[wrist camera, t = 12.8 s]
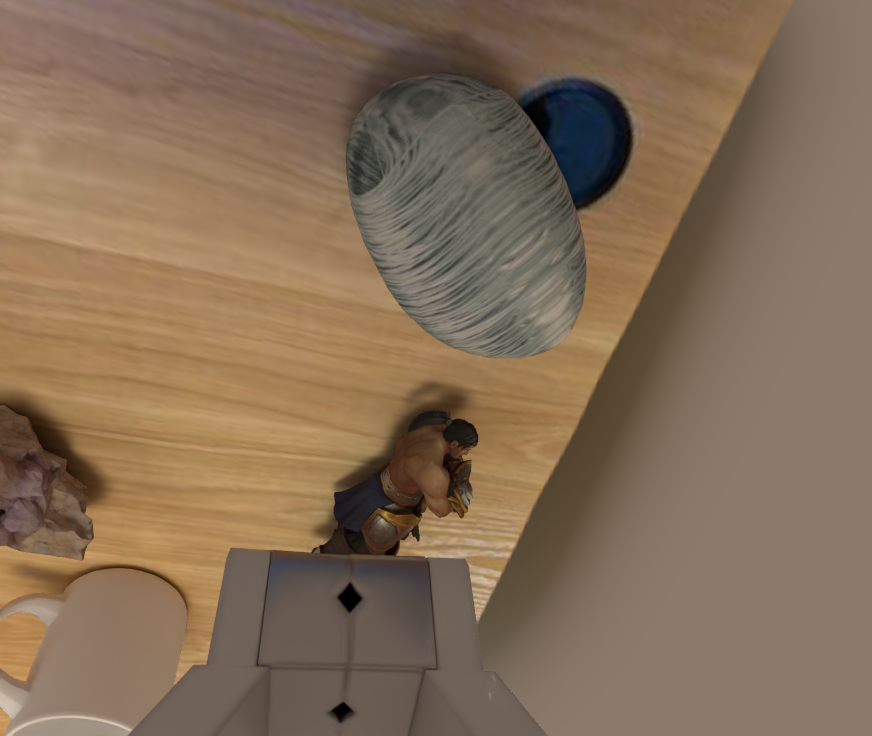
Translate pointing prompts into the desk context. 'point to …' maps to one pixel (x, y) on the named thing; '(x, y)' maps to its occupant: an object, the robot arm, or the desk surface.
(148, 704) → the mug
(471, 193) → the ribbed grey ovoid
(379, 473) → the figurine
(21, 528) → the mineral specimen
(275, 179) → the desk surface
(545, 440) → the desk surface
